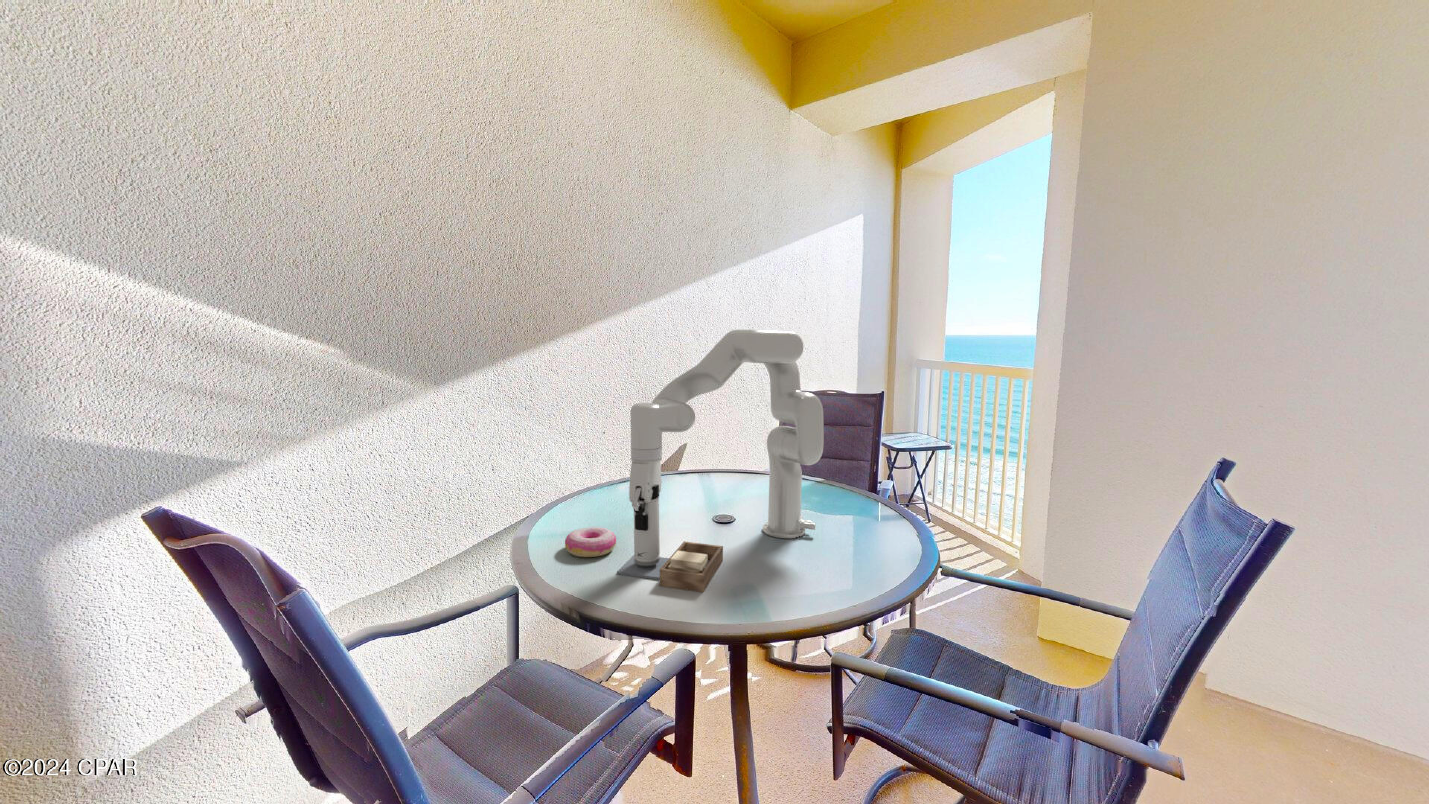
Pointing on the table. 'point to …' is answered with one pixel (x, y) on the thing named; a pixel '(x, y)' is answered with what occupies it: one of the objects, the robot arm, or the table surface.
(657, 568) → the slate mat
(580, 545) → the donut
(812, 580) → the table surface
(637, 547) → the travel mug
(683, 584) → the wooden tray
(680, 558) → the maple offcut stack
